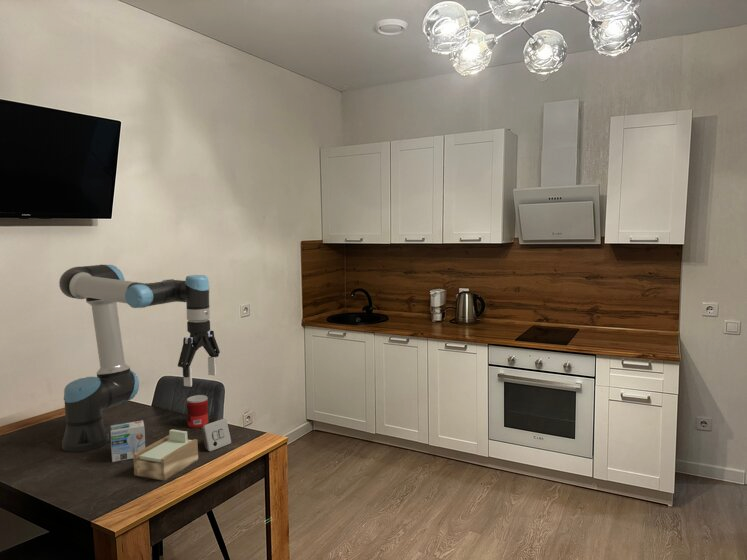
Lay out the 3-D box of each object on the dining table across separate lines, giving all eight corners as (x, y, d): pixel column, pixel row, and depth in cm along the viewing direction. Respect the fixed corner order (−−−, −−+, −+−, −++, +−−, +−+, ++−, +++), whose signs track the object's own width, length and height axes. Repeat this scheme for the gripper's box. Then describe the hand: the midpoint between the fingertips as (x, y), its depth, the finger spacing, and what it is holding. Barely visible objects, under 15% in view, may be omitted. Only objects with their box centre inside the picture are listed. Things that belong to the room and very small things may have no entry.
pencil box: (134, 475, 167) (133, 454, 166) (169, 454, 182) (168, 435, 181) (164, 480, 163) (163, 459, 162) (198, 459, 178) (197, 439, 177)
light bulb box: (112, 462, 176) (110, 431, 175) (111, 455, 182) (109, 425, 181) (146, 456, 181) (144, 425, 180) (145, 448, 187) (143, 419, 186)
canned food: (212, 423, 211) (211, 396, 210) (196, 430, 204) (195, 402, 203) (200, 419, 215) (198, 393, 214) (183, 426, 208) (182, 399, 207)
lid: (139, 458, 166) (138, 445, 166) (170, 441, 180) (169, 429, 179) (159, 462, 164) (159, 448, 163) (189, 444, 177) (189, 431, 176)
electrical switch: (209, 452, 184) (206, 426, 183) (201, 450, 187) (198, 424, 187) (231, 443, 191) (229, 418, 191) (223, 441, 194) (221, 417, 194)
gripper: (184, 327, 168) (186, 392, 170) (228, 314, 191) (230, 371, 194) (164, 326, 170) (167, 389, 172) (210, 313, 194) (212, 369, 196)
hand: (200, 380), depth 183 cm, fingers open, 13 cm apart
